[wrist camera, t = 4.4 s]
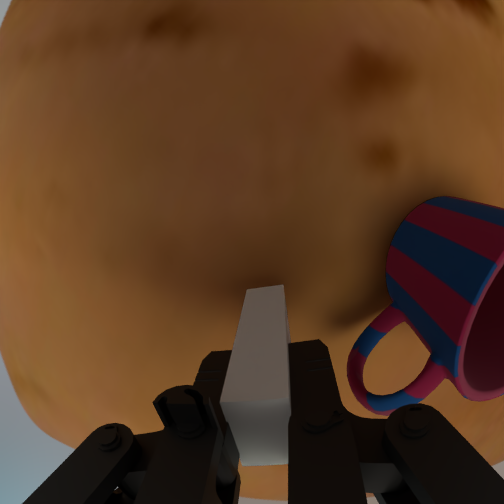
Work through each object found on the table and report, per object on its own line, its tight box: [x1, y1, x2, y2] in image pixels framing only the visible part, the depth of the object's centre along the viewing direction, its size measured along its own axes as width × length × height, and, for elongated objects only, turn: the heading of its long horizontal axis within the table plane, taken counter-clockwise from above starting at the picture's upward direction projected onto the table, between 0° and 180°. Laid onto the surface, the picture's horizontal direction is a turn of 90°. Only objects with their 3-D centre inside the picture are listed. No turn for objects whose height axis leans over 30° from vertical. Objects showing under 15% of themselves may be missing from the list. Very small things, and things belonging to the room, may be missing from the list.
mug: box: [347, 196, 504, 416], centre depth 10 cm, size 7×10×7 cm
